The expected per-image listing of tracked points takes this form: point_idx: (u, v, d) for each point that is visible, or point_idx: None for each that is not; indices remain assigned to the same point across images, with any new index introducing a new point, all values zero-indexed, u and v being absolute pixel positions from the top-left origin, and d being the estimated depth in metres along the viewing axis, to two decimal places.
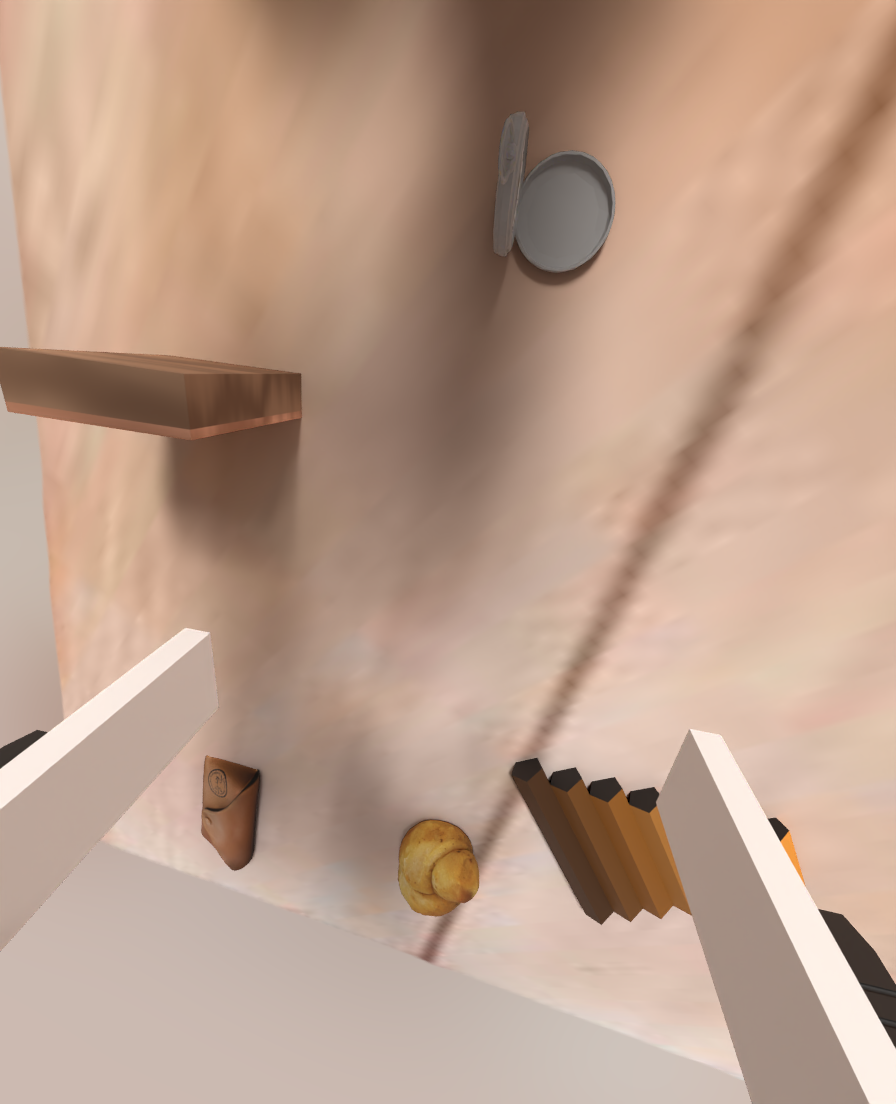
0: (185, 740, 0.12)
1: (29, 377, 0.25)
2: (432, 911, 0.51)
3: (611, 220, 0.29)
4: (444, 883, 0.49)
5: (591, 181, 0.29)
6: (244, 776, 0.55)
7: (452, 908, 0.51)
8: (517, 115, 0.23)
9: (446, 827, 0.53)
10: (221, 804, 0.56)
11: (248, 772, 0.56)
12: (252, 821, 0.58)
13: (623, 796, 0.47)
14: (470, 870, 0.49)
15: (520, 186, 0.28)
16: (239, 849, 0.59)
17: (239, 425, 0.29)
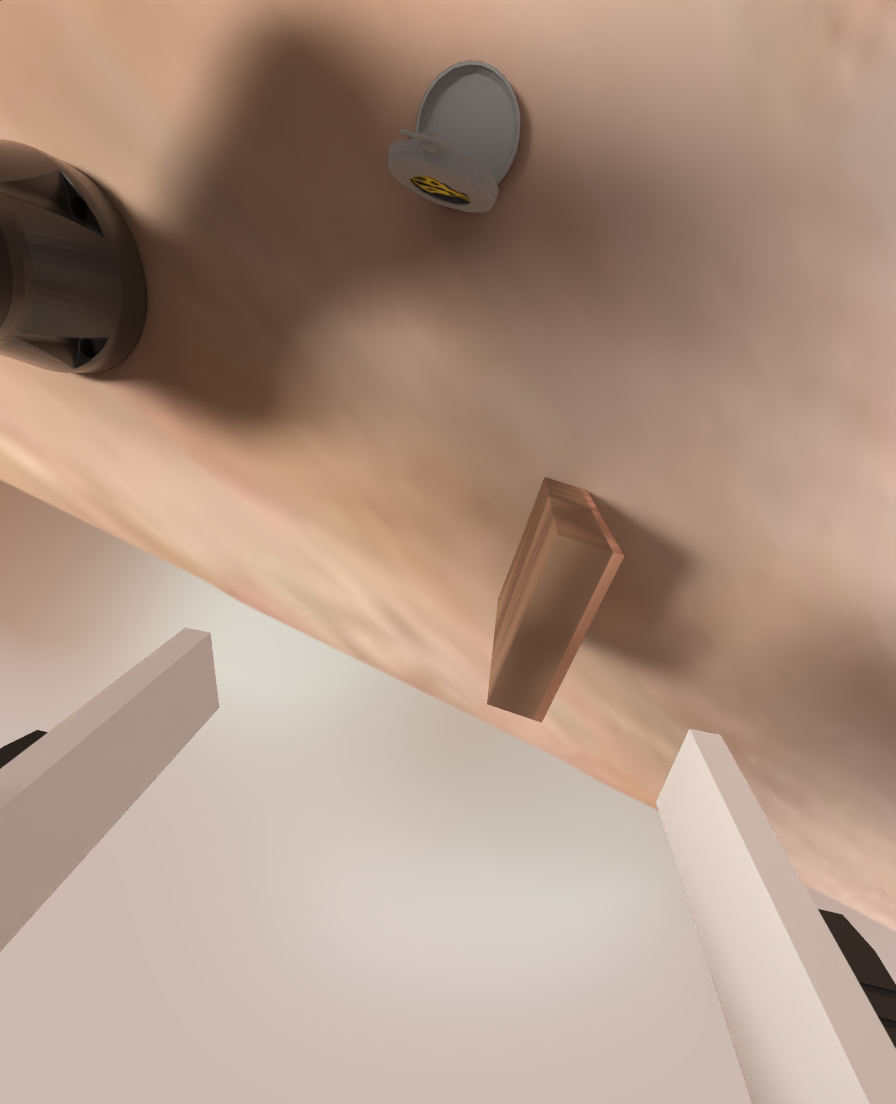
0: (185, 741, 0.12)
1: (519, 686, 0.26)
2: None
3: (484, 64, 0.26)
4: None
5: (443, 99, 0.27)
6: None
7: None
8: (392, 150, 0.24)
9: None
10: None
11: None
12: None
13: None
14: None
15: (436, 182, 0.28)
16: None
17: (602, 524, 0.27)
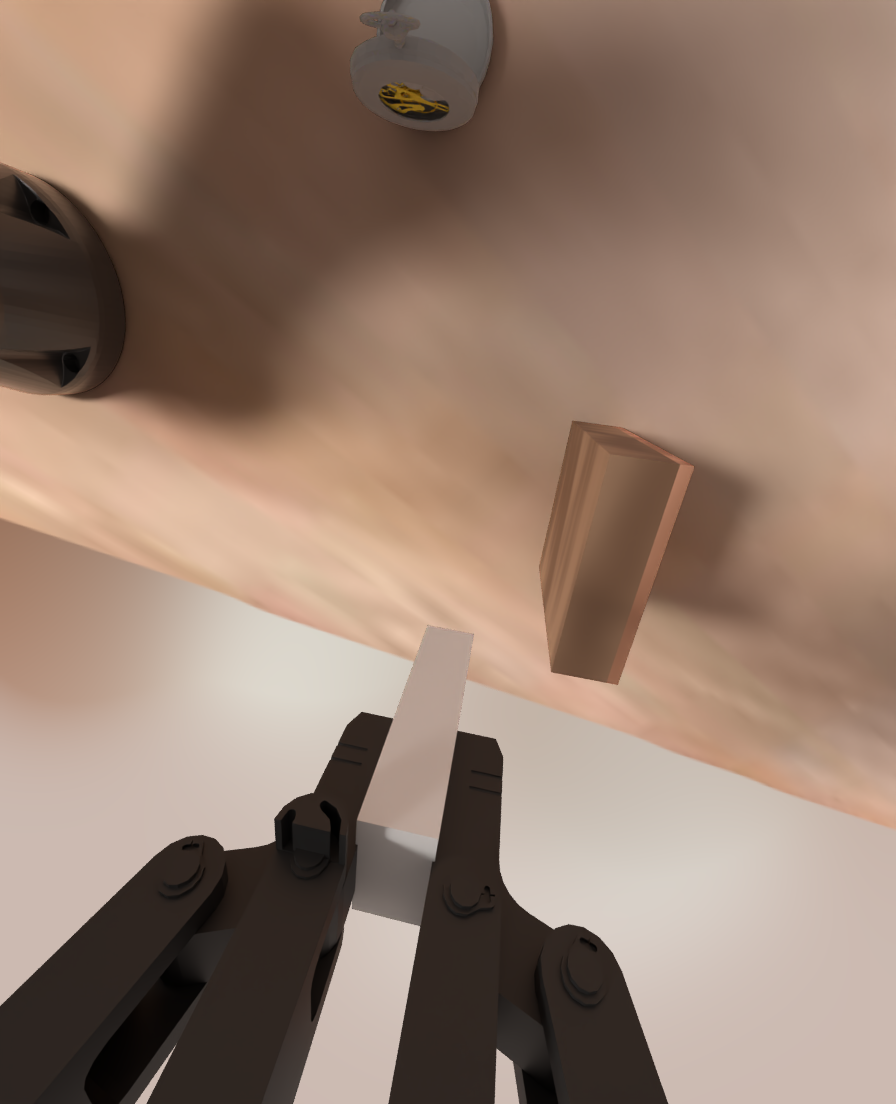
0: None
1: (586, 645, 0.23)
2: None
3: None
4: None
5: (403, 10, 0.25)
6: None
7: None
8: (354, 59, 0.21)
9: None
10: None
11: None
12: None
13: None
14: None
15: None
16: None
17: (654, 447, 0.23)
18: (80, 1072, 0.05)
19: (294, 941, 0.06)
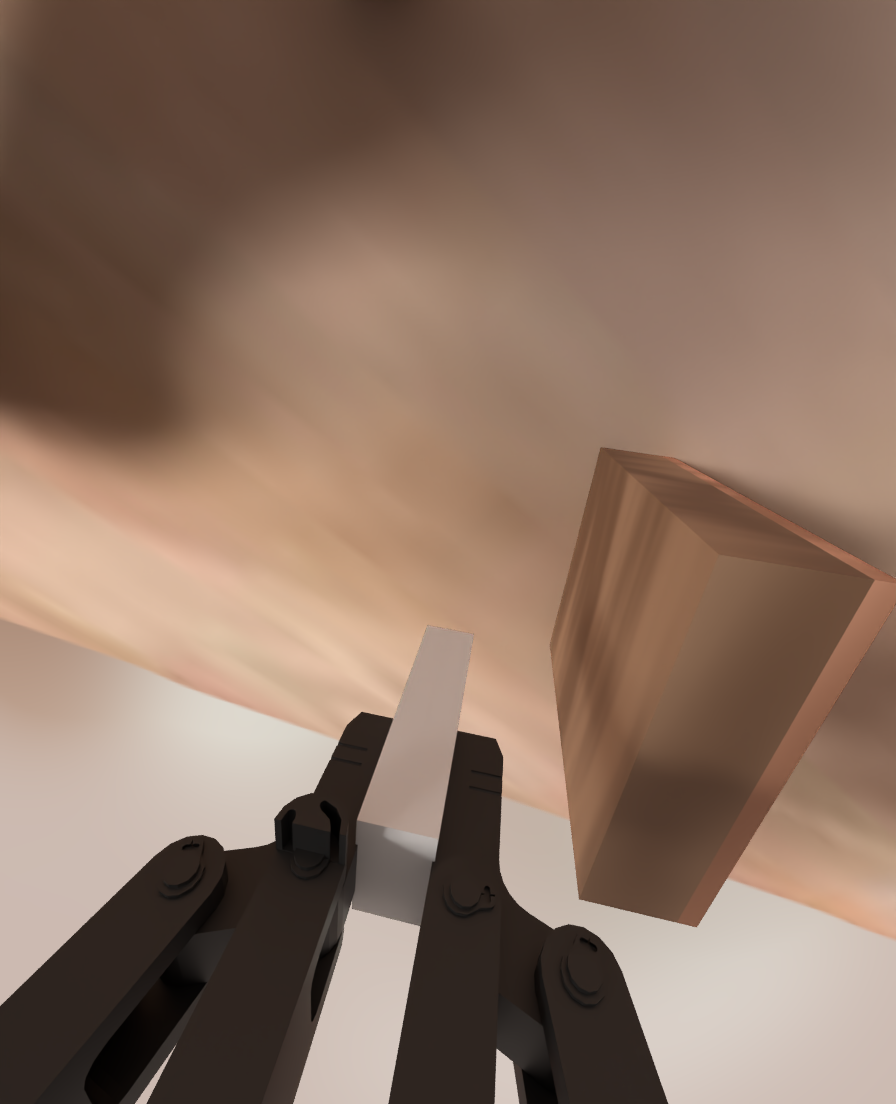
0: None
1: (644, 868, 0.13)
2: None
3: None
4: None
5: None
6: None
7: None
8: None
9: None
10: None
11: None
12: None
13: None
14: None
15: None
16: None
17: (764, 511, 0.13)
18: (79, 1073, 0.05)
19: (294, 941, 0.06)
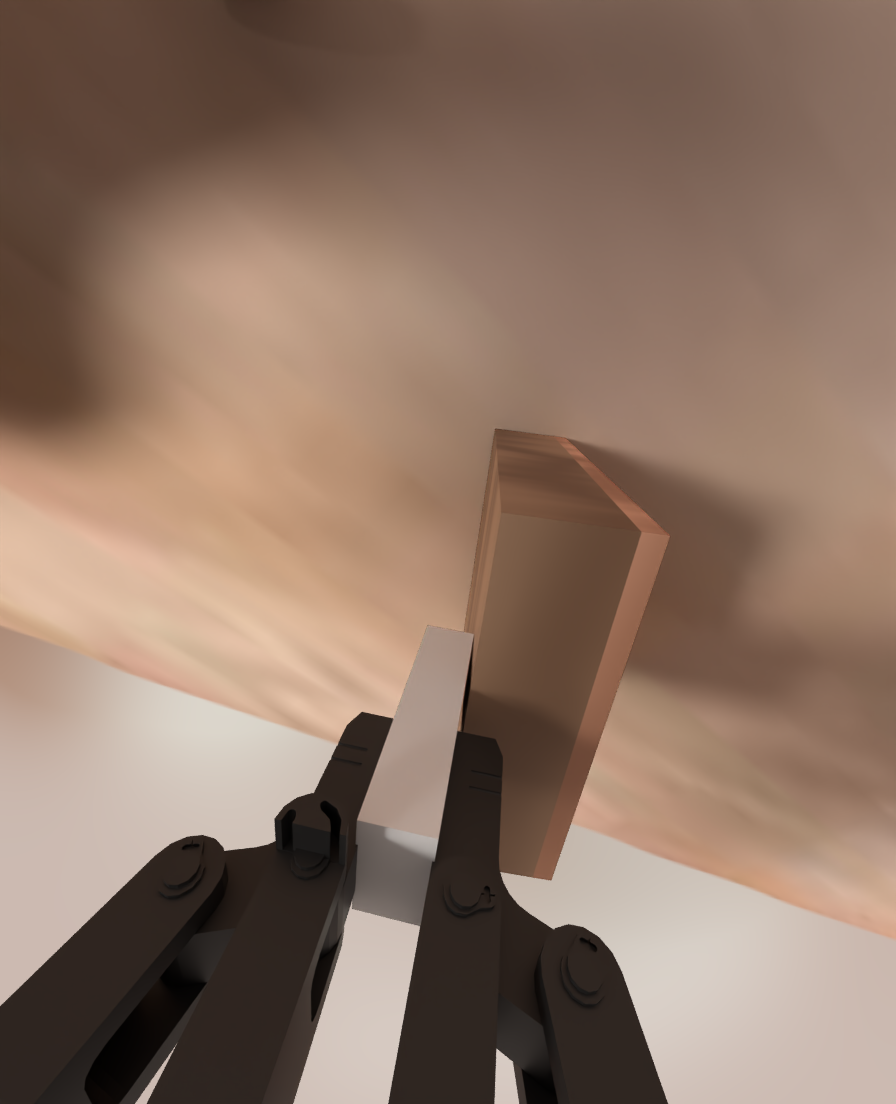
0: None
1: None
2: None
3: None
4: None
5: None
6: None
7: None
8: None
9: None
10: None
11: None
12: None
13: None
14: None
15: None
16: None
17: (601, 480, 0.14)
18: (80, 1072, 0.05)
19: (294, 941, 0.06)
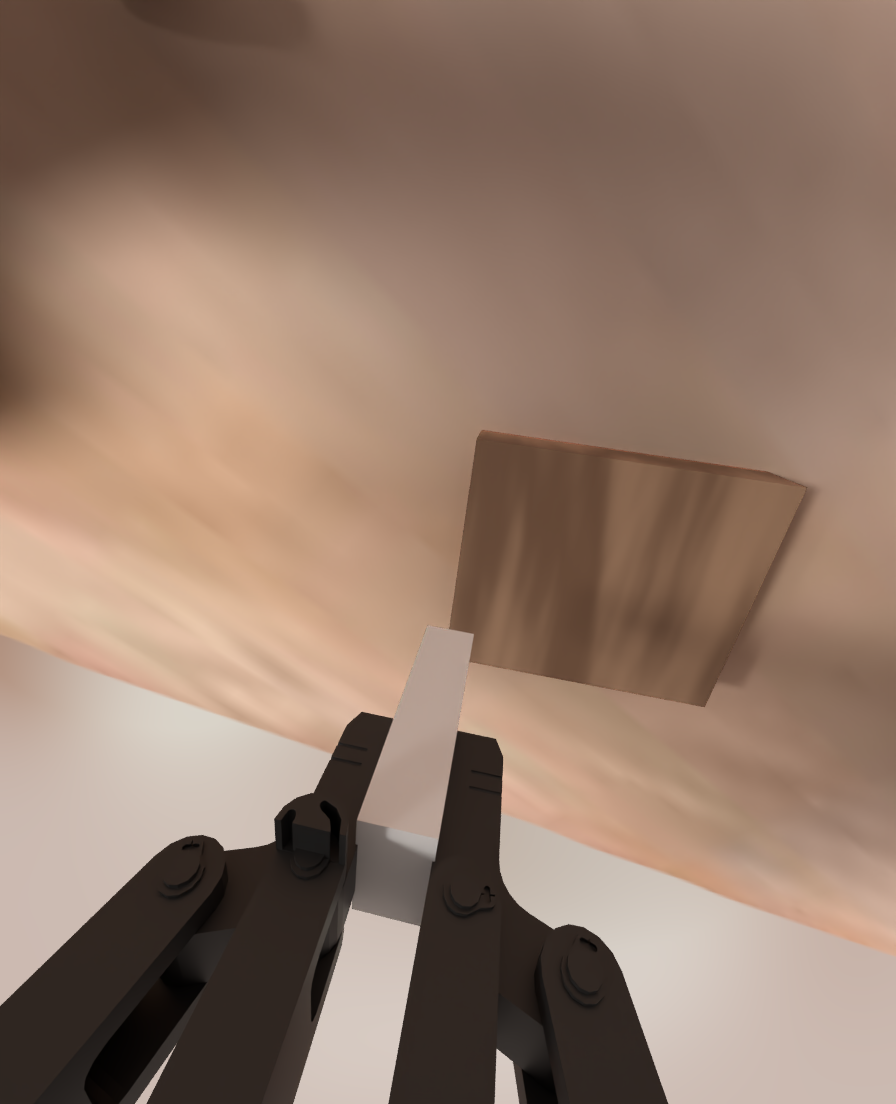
0: None
1: None
2: None
3: None
4: None
5: None
6: None
7: None
8: None
9: None
10: None
11: None
12: None
13: None
14: None
15: None
16: None
17: None
18: (80, 1071, 0.05)
19: (294, 941, 0.06)
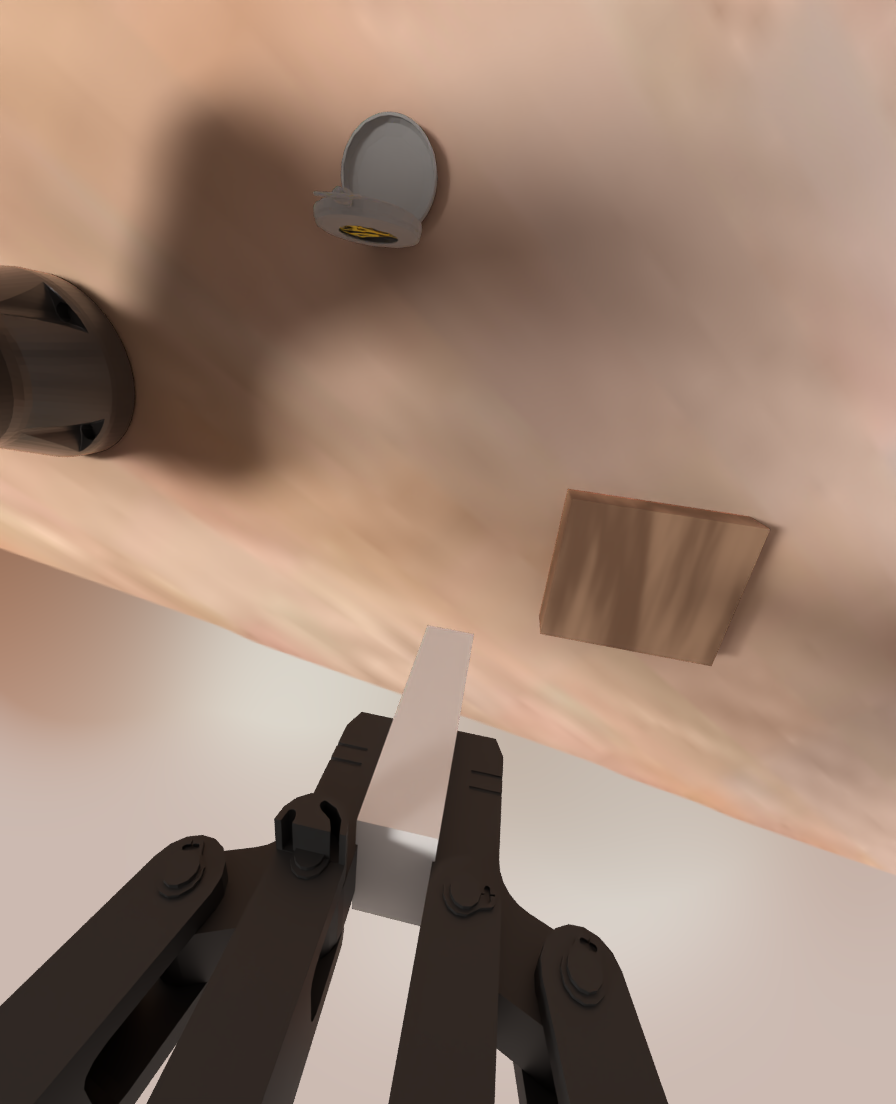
0: None
1: None
2: None
3: (392, 113, 0.28)
4: None
5: (363, 152, 0.29)
6: None
7: None
8: (315, 209, 0.26)
9: None
10: None
11: None
12: None
13: None
14: None
15: (367, 227, 0.30)
16: None
17: None
18: (80, 1072, 0.05)
19: (294, 941, 0.06)
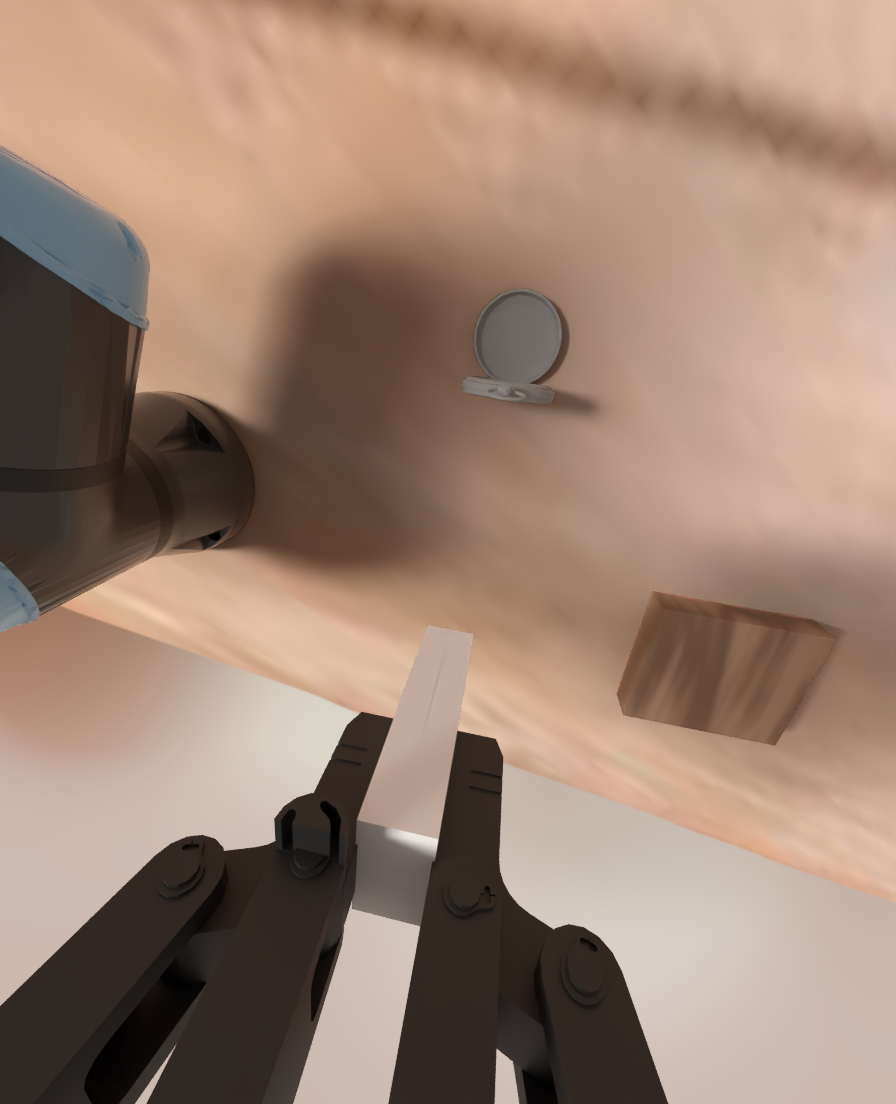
0: None
1: None
2: None
3: (526, 290, 0.32)
4: None
5: (493, 315, 0.33)
6: None
7: None
8: (469, 386, 0.30)
9: None
10: None
11: None
12: None
13: None
14: None
15: (496, 380, 0.34)
16: None
17: None
18: (80, 1072, 0.05)
19: (294, 941, 0.06)
